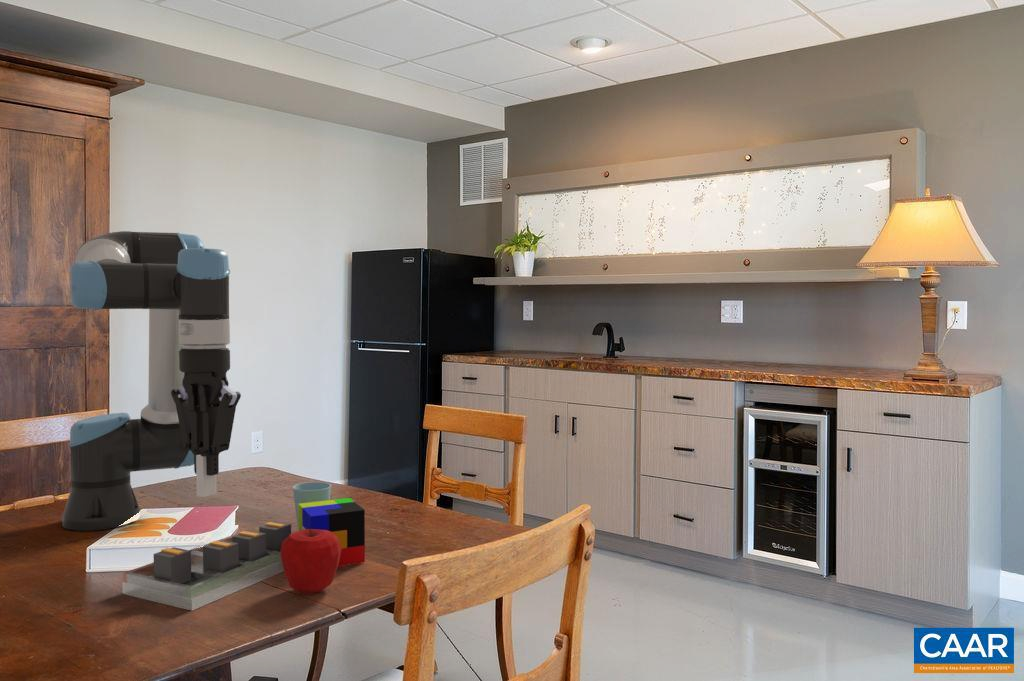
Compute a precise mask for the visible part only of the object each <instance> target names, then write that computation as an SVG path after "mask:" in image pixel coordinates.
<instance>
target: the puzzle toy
mask: <svg viewBox="0 0 1024 681" xmlns="http://www.w3.org/2000/svg"><path fill="white" fill-rule="evenodd" d="M365 511H366V510H365V508H363V507H361V505H359V504H358V503H356V502H355V501H354V500H353V499H352V498H351V497H346V498H337V499H330V500H327V501H318V502H309V503H300V504H298V525H297V529H298V528H299V531H300V530H304V529H309V528H310V529H317V530H327V531H331V532H332V533H333V534H334V535H335V536H336V537H337V538H338V540H339V543H340V546H341V549H342V550H341V554H340V559H339V564H338V567H342V565H345V566H349V565H348V564H351V565H355V564H354V563H358V564H362V563H361V562H366V561H365V559H366V558H365V557H366V548H365V546H366V541H365V538H366V533H365V532H366V531H365V518H366V516H365V513H366V512H365Z"/></svg>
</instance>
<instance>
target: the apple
mask: <svg viewBox="0 0 1024 681" xmlns="http://www.w3.org/2000/svg"><path fill="white" fill-rule="evenodd" d="M341 550H342V549H341V546H340V543H339V540H338V538H337V537H336V536H335V535H334V534H333V533H332V532H331V531H327V530H317V529H310V528H309V529H304V530H300V531H298V530H296V531H294V532H291V534H290V535H289V536H288V537H287V538H286V539H285V540H284V541H283V542H282V546H281V551H280V555H281V560H282V564H283V569H284V571H283V572H284V574H285V578H286V581H287V583H288V585H289V588H291V589H292V590H294V591H296V592H297V593H300V594H303V595H309V594H317V593H321V592H322V591H324V590H325V589H326V588H328V587H329V586H330V585H331V584H332V583H333V581H334V578H335V575H336V573H337V569H338V567H339V566H338V564H339V559H340V554H341Z"/></svg>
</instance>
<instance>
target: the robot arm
mask: <svg viewBox="0 0 1024 681" xmlns="http://www.w3.org/2000/svg"><path fill="white" fill-rule="evenodd" d="M230 273H231V269H230V267H229V255H228V253H227V252H226V251H225V250H223V249H219V248H205V245H204V243H203V240H202V239H201V238H200V237H199V236H198V235H194V234H188V233H187V234H186V233H180V232H156V231H155V232H153V231H152V232H150V231H149V232H148V231H146V232H144V231H129V230H128V231H125V230H123V231H122V230H121V231H112V232H108V233H104V234H101V235H97V236H94V237H92V238H90V239H88V240H87V241H85V242H84V243H82V244H81V245H80V247H79V248H78V250H77V251H76V254H75V262H73V263H72V264H71V265H70V301H71V305H72V306H73V307H74V308H76V309H83V310H93V311H99V310H135V309H136V310H137V309H139V310H140V309H141V310H149V311H148V315H149V317H148V392H147V393H148V401H147V404H146V406H144V407H143V408H142V409H141V411H140V418H131V416H130V414H129V413H128V412H117V413H116V412H115V413H113V412H112V413H105V414H102V415H96V416H91V417H90V416H89V417H86V418H83V419H79V420H78V421H75V422H74V423H73V424H72V426H71V427H70V429H69V430H70V431H69V443H68V446H69V447H70V450H69V452H70V453H69V454H70V491H69V495H68V498H67V500H66V504H65V507H64V511H63V513H62V514H61V515H62V518H61V522H62V523H61V525H62V528H64V529H66V530H69V531H70V530H71V531H77V532H78V531H83V532H86V531H101V530H109V529H114V528H119V527H118V526H119V525H121V524H123V523H124V522H125V521H127V520H128V519H130V518H131V517H133V516H134V515H136V514H137V513H139V512H141V510H140V505H139V504H138V500H137V496H136V495H135V492H134V490H133V487H132V484H131V473H132V472H142V471H143V472H144V471H151V470H152V471H154V470H155V471H156V470H167V469H180V468H184V467H191V466H193V468H194V469H193V470H194V474H195V475H196V476H195V477H196V497H199V498H200V497H201V498H206V497H208V496H212V495H217V494H218V488H217V484H218V483H217V482H218V481H217V480H218V479H217V475H218V474H219V470H220V469H219V468H220V467H219V466H220V465H219V462H220V461H219V455H220V453H222V452H225V451H229V448H230V443H231V438H232V433H233V427H234V426H233V425H234V422H235V421H234V420H235V414H236V409H237V405H238V403H239V401H240V399H241V397H242V396H241V395H242V394H241V392H240V391H234V390H233V389H232V388H230V386H229V380H228V378H227V372H228V371H229V370H230V369H231V350H230V349H229V348H228V347H227V345H229V344H230V343H231V335H230V334H231V332H230V331H231V330H230V328H231V327H230Z"/></svg>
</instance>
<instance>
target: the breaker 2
mask: <svg viewBox="0 0 1024 681" xmlns="http://www.w3.org/2000/svg"><path fill="white" fill-rule="evenodd" d="M219 540H220V539H219ZM209 543H210V544H209ZM209 543H208V544H209V545H206V544H205V545H206V546H203V545H202V546H203V569H204V570H209V571H214V572H219V573H225V572H227V571H230V570H232V569H235V568H237V567H239V554H238V543H234V542H228V541H223V540H220V541H217V540H214V541H211V542H209Z"/></svg>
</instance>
